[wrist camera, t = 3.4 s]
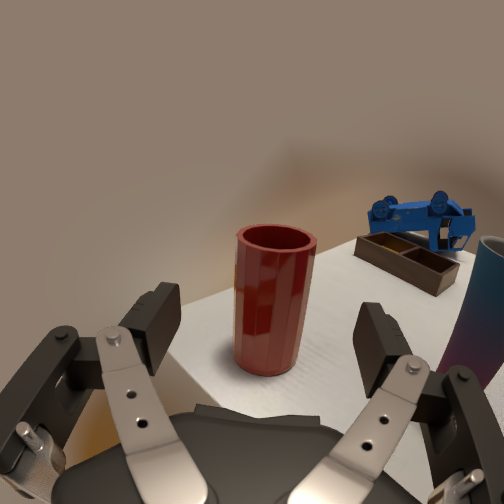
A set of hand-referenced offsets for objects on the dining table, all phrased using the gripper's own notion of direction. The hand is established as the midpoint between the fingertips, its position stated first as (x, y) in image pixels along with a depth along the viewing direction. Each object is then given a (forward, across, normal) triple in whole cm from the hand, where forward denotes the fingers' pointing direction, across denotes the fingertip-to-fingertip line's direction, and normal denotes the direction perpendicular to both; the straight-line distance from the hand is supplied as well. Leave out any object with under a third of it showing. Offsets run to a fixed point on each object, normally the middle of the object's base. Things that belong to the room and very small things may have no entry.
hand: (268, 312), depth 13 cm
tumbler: (+11, 0, +12) cm, 17 cm away
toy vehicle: (+52, -33, +1) cm, 61 cm away
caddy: (+35, -24, +12) cm, 44 cm away
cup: (+5, -18, +13) cm, 22 cm away
